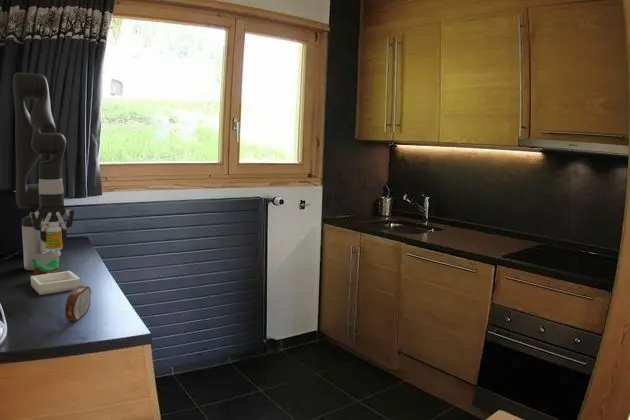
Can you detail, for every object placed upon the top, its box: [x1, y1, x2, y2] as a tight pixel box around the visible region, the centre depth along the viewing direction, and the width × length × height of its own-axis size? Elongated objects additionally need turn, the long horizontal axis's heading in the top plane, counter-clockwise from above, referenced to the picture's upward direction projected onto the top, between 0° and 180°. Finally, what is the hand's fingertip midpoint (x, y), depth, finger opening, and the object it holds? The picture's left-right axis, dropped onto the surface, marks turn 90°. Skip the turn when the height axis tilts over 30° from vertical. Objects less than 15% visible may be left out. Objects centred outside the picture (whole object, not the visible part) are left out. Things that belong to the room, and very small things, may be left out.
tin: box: [64, 285, 92, 322], centre depth 159 cm, size 15×3×8 cm, turn 5°
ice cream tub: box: [31, 249, 62, 276], centre depth 200 cm, size 12×6×10 cm, turn 168°
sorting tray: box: [30, 270, 82, 296], centre depth 187 cm, size 13×13×4 cm
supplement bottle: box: [45, 221, 63, 251], centre depth 185 cm, size 5×5×10 cm
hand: (53, 240), depth 185 cm, fingers closed on supplement bottle, 5 cm apart
